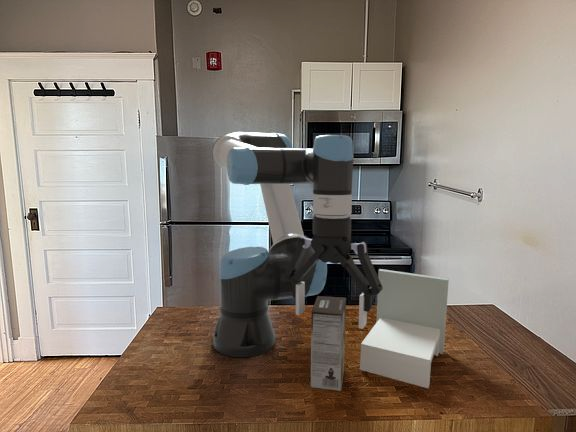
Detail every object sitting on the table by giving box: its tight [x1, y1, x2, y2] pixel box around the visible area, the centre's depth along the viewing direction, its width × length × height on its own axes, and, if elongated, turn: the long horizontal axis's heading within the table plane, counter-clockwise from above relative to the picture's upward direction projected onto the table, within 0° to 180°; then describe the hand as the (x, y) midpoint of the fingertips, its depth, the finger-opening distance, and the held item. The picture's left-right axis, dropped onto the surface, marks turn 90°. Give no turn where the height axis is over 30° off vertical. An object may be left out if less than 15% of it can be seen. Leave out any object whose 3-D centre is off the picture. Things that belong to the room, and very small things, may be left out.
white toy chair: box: [359, 268, 450, 389], centre depth 84 cm, size 16×18×18 cm
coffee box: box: [310, 295, 347, 392], centre depth 77 cm, size 9×6×16 cm
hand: (330, 319), depth 76 cm, fingers open, 13 cm apart
